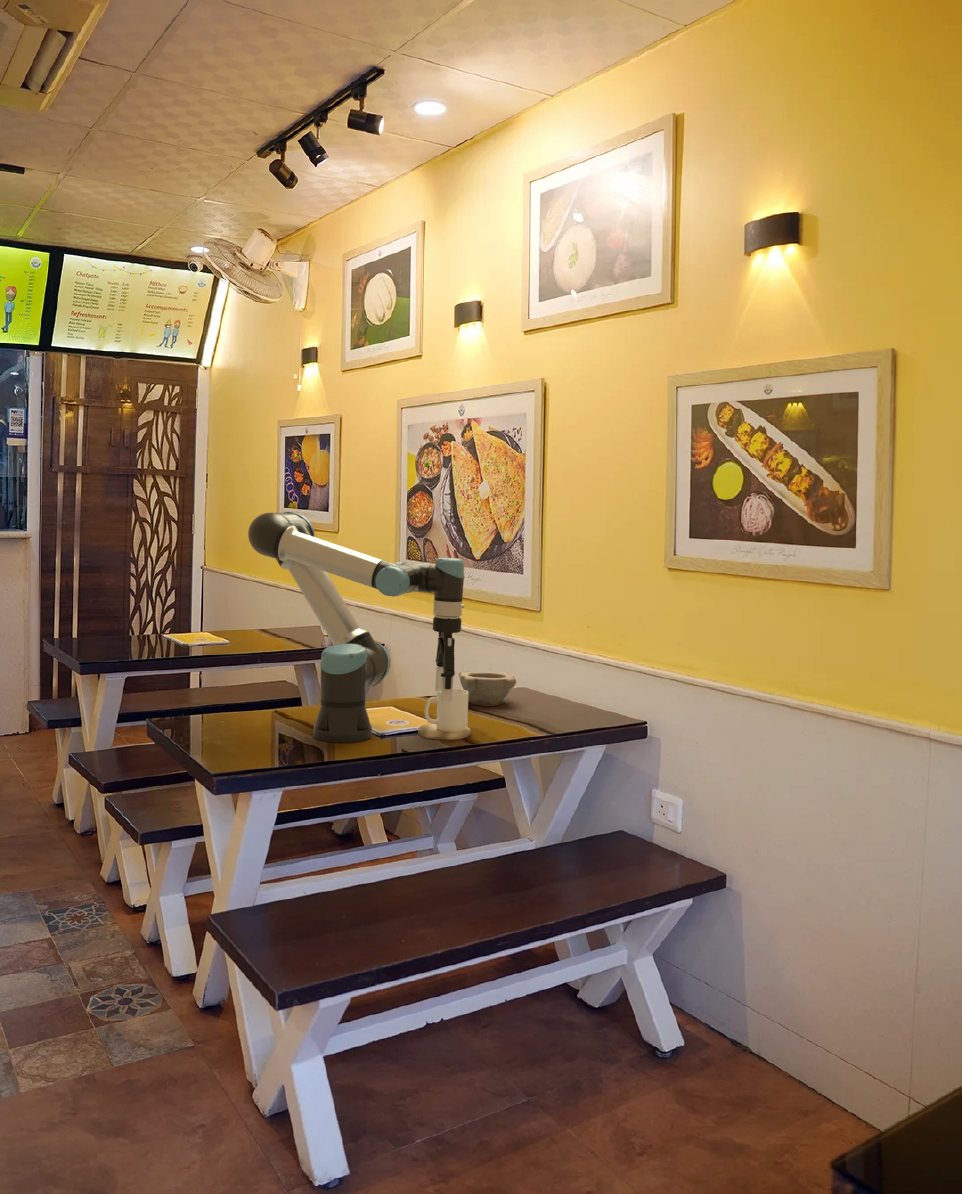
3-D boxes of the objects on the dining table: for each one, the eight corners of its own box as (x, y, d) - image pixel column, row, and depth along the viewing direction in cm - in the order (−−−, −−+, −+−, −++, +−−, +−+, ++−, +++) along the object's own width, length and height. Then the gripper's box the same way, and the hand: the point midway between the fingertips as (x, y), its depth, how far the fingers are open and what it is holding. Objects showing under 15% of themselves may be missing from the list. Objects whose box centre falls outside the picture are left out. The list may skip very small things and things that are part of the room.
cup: (472, 731, 265) (473, 693, 264) (429, 734, 260) (430, 695, 259) (460, 724, 273) (461, 687, 272) (418, 727, 268) (419, 689, 267)
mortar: (509, 698, 318) (510, 669, 317) (516, 709, 302) (517, 679, 301) (456, 697, 316) (457, 669, 316) (461, 708, 300) (461, 678, 299)
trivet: (420, 740, 259) (421, 735, 259) (415, 727, 273) (415, 723, 273) (474, 739, 261) (474, 734, 261) (466, 727, 275) (466, 722, 275)
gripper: (468, 623, 252) (463, 706, 255) (455, 611, 277) (451, 686, 279) (438, 622, 251) (434, 705, 253) (428, 610, 276) (424, 686, 278)
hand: (443, 695), depth 266 cm, fingers open, 13 cm apart
